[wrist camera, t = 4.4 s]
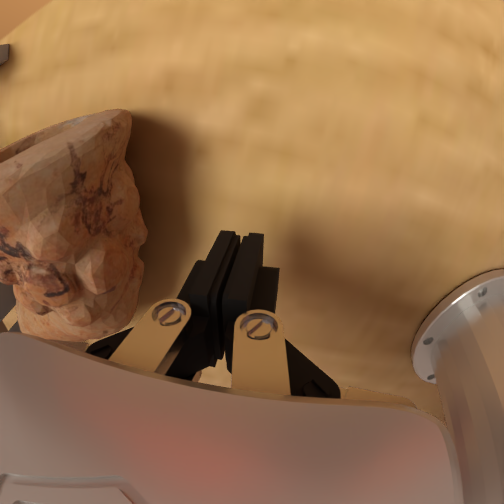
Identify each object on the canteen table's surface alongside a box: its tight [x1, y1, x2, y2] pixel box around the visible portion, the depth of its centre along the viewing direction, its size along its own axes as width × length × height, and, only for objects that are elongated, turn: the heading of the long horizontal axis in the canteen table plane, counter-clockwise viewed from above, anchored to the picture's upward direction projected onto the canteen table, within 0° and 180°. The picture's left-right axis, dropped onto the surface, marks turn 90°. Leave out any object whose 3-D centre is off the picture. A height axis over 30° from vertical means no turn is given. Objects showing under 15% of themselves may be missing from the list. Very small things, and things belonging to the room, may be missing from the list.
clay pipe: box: [0, 109, 148, 342], centre depth 15 cm, size 19×11×15 cm
